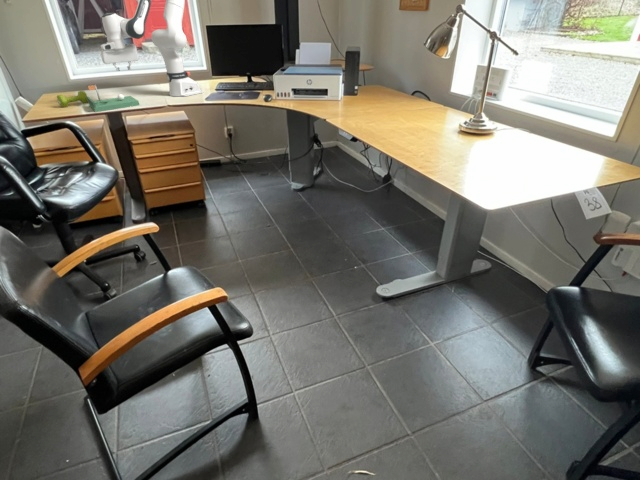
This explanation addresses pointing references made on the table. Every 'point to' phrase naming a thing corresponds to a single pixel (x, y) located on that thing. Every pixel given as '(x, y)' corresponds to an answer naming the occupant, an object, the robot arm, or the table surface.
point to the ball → (120, 97)
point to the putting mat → (110, 102)
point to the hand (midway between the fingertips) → (124, 70)
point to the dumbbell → (72, 99)
